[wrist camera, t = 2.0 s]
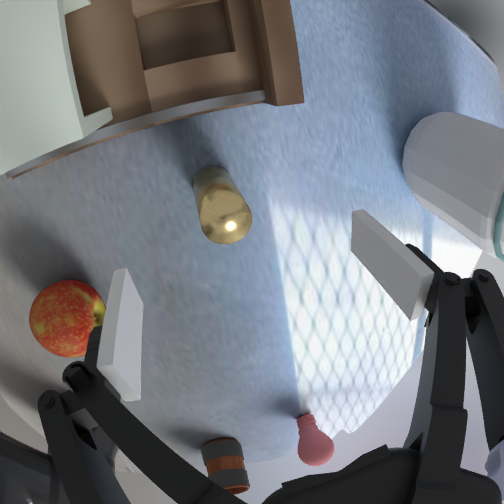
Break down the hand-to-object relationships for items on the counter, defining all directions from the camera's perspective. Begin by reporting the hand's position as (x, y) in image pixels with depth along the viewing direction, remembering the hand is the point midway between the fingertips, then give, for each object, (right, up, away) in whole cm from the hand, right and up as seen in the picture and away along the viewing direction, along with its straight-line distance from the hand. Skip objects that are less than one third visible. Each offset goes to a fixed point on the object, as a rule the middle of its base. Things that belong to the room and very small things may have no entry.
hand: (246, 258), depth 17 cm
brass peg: (-3, +7, +11) cm, 13 cm away
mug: (-7, -42, +40) cm, 59 cm away
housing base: (-10, +17, +3) cm, 20 cm away
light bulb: (+11, -34, +40) cm, 53 cm away
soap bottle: (+22, +12, +15) cm, 29 cm away
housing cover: (-15, +14, -1) cm, 20 cm away
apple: (-20, -4, +13) cm, 24 cm away
